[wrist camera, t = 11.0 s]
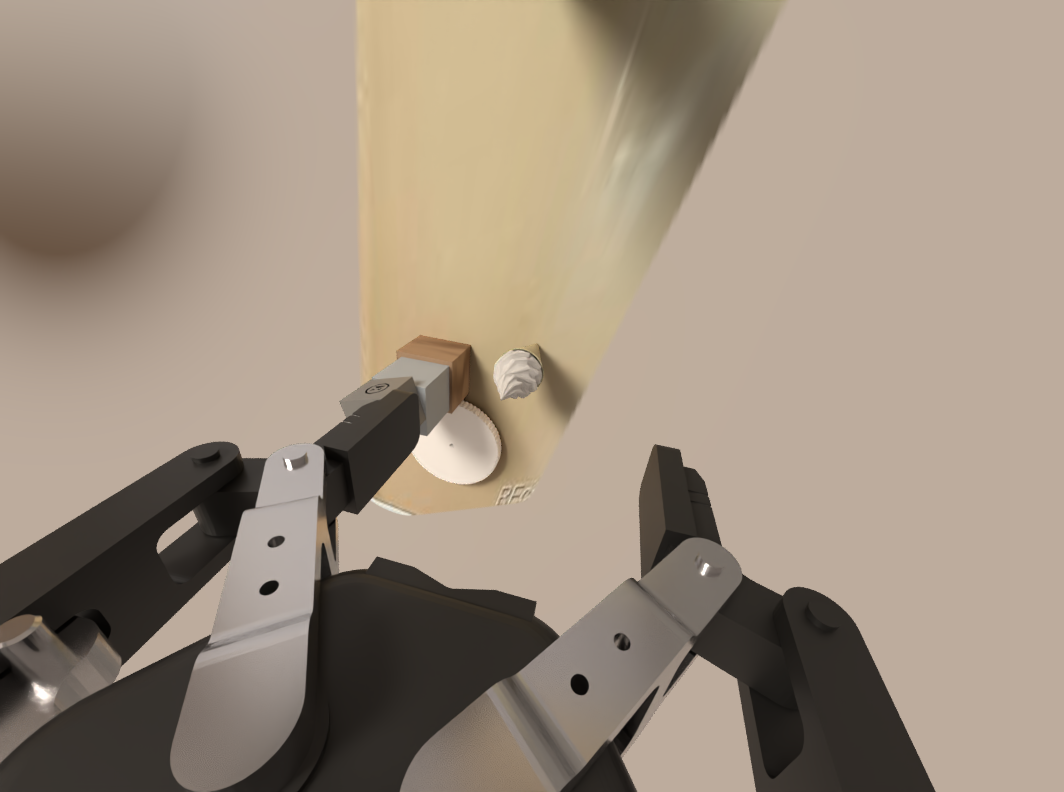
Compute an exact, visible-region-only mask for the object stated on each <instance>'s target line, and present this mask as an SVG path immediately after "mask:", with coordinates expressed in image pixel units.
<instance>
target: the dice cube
mask: <svg viewBox="0 0 1064 792" xmlns="http://www.w3.org/2000/svg"><path fill="white" fill-rule="evenodd" d="M394 389H397V390H402V391H406V392H411V393H415V394H417V396H418V399H419V416H420V426H421V424H422V423H423V422H424V421H425V420H426V416H425V413H424V410H423V407H422V404H421V401H420V398H419V395H418V392H417V389H416V386H415V383H414V380H413V377H412V376H410V377H398V378H385V379H373V380H370V381H368V382H367V383H365V384H364V385H362V386H361V387H360V388H358V389H357V390H355V391H354V392H352V393H351V394H349V395H348V396H346V397H345V398H344V399H342V400H341V401H340V404H341V407H342V409H343V411H344V413H345V416H346V418H347V417H349V416H350V415H351V416H352V413H354V412H355V411H356V410H358V409H359V408H360V407H361V406H363V405H365V404H368V403H370V402H373V401H375V400H381V399H382V398H383V397H385V396H386V395H387V394H388V393H390V392H391V391H392V390H394Z"/></svg>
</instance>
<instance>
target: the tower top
mask: <svg viewBox="0 0 1064 792" xmlns="http://www.w3.org/2000/svg"><path fill="white" fill-rule="evenodd" d="M410 376H412V377H413V380H414V383H415V386H416V389H417V392H418V395H419V398H420V401H421V404H422V407H423V410H424V413H425V416H426V420H425V421H424V422H423V423H422V424H421V426H420V435H423V436H428V435H429V434H430V432H431V431H432V430H433V429H434V428H435V426H436V425H437V424H438V423H439V422H440V421H441V419H442V418H443V417H444V416H445V415H446V413H447V412H448V411H449V366H448V365H442V364H437V363H432V362H427V361H421V360H416V359H411V358H406V357H400V358H399V359H398V360H396V361H395V362H393V363H392V364H390V365H389V366H387V367H386V368H385V369H383V370H382V371H380V372H379V373H377V374H376V375H375V376H373V377H372V380H373V379H385V378H398V377H410Z"/></svg>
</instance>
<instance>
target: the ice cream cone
mask: <svg viewBox="0 0 1064 792" xmlns="http://www.w3.org/2000/svg"><path fill="white" fill-rule="evenodd" d="M543 375H544V370H543V366H542V363H541V358H540V352H539V346H538V344H533V345H529V346H525V347H522V348H515V349H511V350H508V351H507V352H505V353H504V354H503V355H502V356H501V357H500V358H499V360H498V361H497V362H496V364H495V366H494V375H493V378H494V382H495V384H496V386H497V388H498V392H499V393H500V397H501V401H502V400H504V399H507V398H510V397H511V398H513V399H517V397H518V396H519V397H521V398H525V397H527V396H528V395H529V394H531V393H530V392H534V391H535V390H537V387H538V386H539V385H540V384H541V382H542V380H543Z"/></svg>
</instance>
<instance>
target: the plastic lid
mask: <svg viewBox="0 0 1064 792" xmlns="http://www.w3.org/2000/svg"><path fill="white" fill-rule="evenodd" d="M494 426H495V425H494V424H493V423H492V421H490V418H489V417H487V415H486V414H484V413H483V411H480V409H479V408H476V406H473V405H472V404H471V403H470V404H469V403H468V402H467V401H466V402H464V400H463V401H462V402H461V403H460V404H459V405H458V407H457V408H456V409H455V410H454V412H453V413H452V414H451V413H446V415H445V416H444V417H443V418H442V419H441V421H440V422H439V423H438V424H437V425H436V426H435V428H434V429H433V430H432V431H431V432H430V434H429V435H428V436H423V435H420V437H419V441H418V443H417V445H416V447H415V449H414V450H413V451H412V453H413V454H414V455H413V456H414V457H416V458H415V459H416V460H418V463H420V464H421V466H423V468H424V469H427V471H429V472H430V473H431V474H433V475H434V476H437V478H440V479H441V480H442V479H443V480H444V481H448V482H452V483H456V484H458V483H459V484H464V485H465V484H469V483H470V484H472V483H476V482H479V481H482V480H483V479H485V478H486V477H488V476H489V475H490V474H491V473H492V472H493V470H494V469H495V467H496V465H497V463H498V461H499V459H500V455H501V448H502V446H501V442H500V441H501V439H499V438H500V435H498V433H499V432H498V431H497V428H495V427H494Z"/></svg>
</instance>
